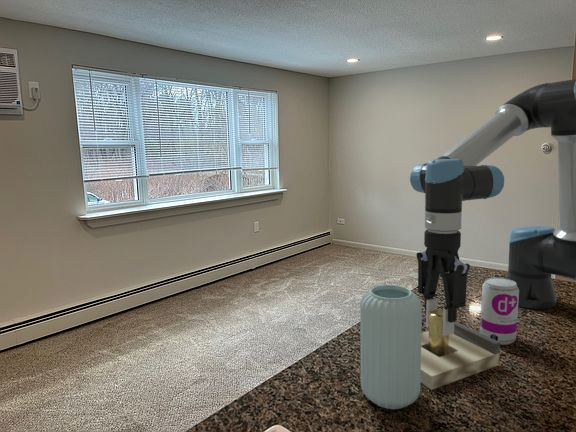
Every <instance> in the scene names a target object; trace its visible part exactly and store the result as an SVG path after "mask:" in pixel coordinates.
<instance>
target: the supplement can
mask: <svg viewBox="0 0 576 432" xmlns="http://www.w3.org/2000/svg"><path fill="white" fill-rule="evenodd" d="M518 301H519V289H518V287H517V284H516V282H514V281H513V280H510V279H506V277H489V278H486V279H484V283H483V284H481V303H480V304H481V305H480V323H479V324H480V327H479V329H480V330H479V333H481V334H483V335H485V336H487V337H490V338H492V339H494V340H496V341H498V342H500V346H501V345H505V346H507V345H511V344H512V343H513V342H515V341H516V340H517V331H518V329H517V328H518V313H519V306H518Z"/></svg>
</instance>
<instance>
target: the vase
mask: <svg viewBox="0 0 576 432" xmlns="http://www.w3.org/2000/svg"><path fill="white" fill-rule="evenodd" d="M359 307H360V308H359V310H360V313H359V316H360V317H359V318H360V321H359V323H360V324H359V325H360V327H359V329H360V333H359V334H360V337H359V338H360V388H361V389H362V392H363V394H364V395H365V396H366V398H367V399H368V400H370V401H371V402H372V403H374V404H375V405H377V406H378V407H381V408H385V409H390V410H399V409H403V408H406V407H409V406H410V405H412V404H413V403H414V402H415V401H417V400H418V398H419V396H420V393H421V382H420V378H421V333H422V329H423V328H422V327H423V326H422V323H423V321H422V320H423V305H422V302H421V300H420V298H419V296H417V294H416V293H415V292H413V291H412V290H411V289H410V288H407V287H405V286H402V285H396V284H382V285H376V286H374V287H372V288H371V289H368V290H367V291H366V292H365V293H364V294H363V295H362V296H361V298H360V304H359Z"/></svg>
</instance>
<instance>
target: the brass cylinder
mask: <svg viewBox="0 0 576 432" xmlns="http://www.w3.org/2000/svg"><path fill="white" fill-rule="evenodd" d="M442 330H443V310H439V309H437V310H434V311H430V312H429V328H428V331H429V338H428V351H429V352H431V353H433V354H434V355H436V356H438V357H441V356H444V355H447V354H448V349H449V335H448V336H443V335H442Z"/></svg>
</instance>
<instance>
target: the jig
mask: <svg viewBox="0 0 576 432" xmlns="http://www.w3.org/2000/svg"><path fill="white" fill-rule="evenodd" d="M428 338H429V330H427V331H423V332H421V378H420V384H422V385H424V386H425V387H426V388H427V389H429V390H430V391H431V390H436V389H437V388H440V387H443V386H445V385H449V384H452V383H453V382H454V383H455V382H456V381H459V380H463V379H465V378H467V377H470V376H474V375H476V374H479V373H481V372H482V373H483V372H484V371H487V370H489V369H493V368H495V367H498V366H499V365H500V354H501V353H500V351H501V350H500V349H501V345H500V342H498V341H496V340H494V339H492V338H490V337H487V336H485V335H483V334H481V333H480V331H476V330H474V329H472V328H470V327H468V326H466V325H463V324H461V323H460V322H457V321H456V322H454V334H451V335H449V349H448V354H447V355H444V356H441V357H438V356H436V355H434V354H433V353H431V352H429V351H428Z"/></svg>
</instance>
